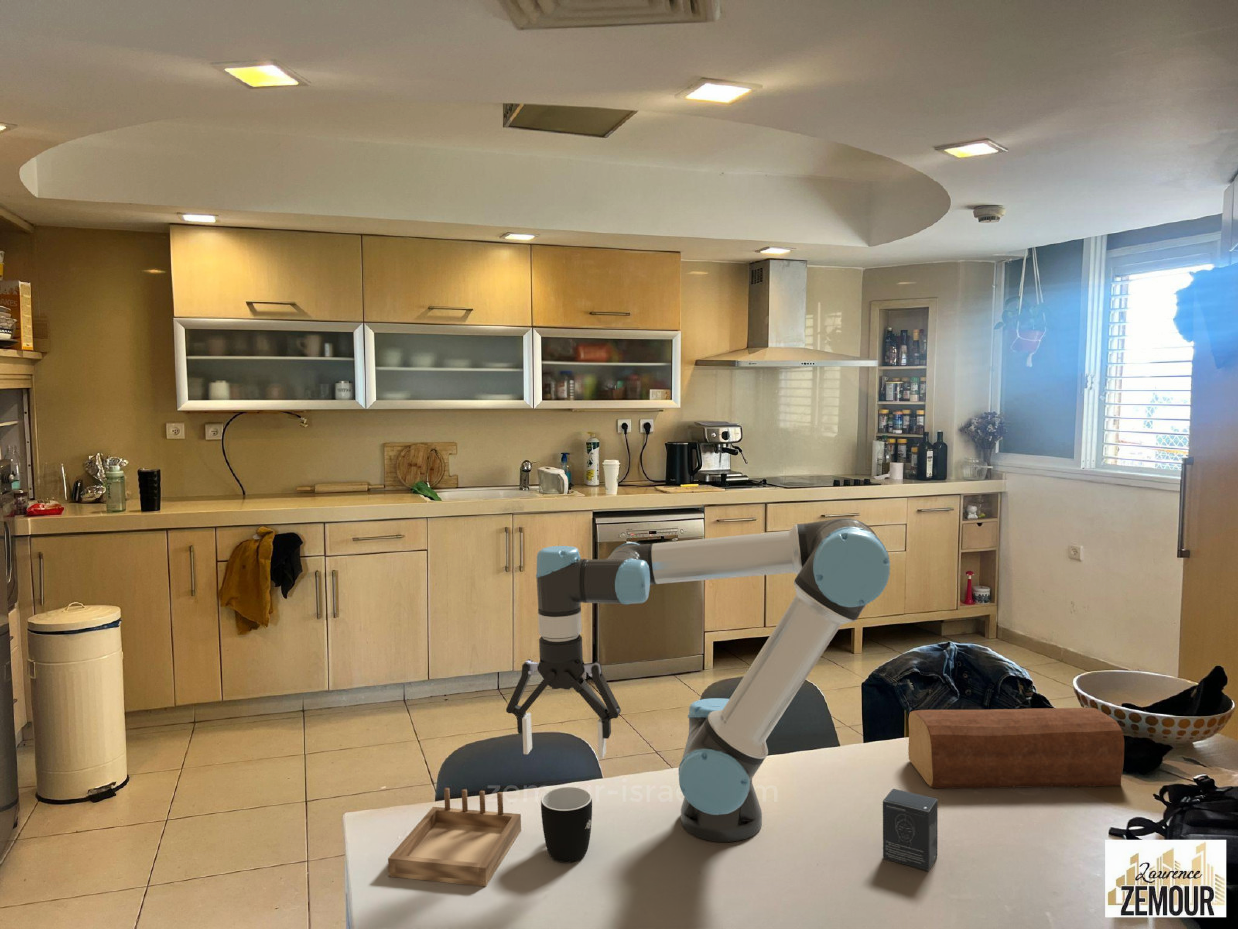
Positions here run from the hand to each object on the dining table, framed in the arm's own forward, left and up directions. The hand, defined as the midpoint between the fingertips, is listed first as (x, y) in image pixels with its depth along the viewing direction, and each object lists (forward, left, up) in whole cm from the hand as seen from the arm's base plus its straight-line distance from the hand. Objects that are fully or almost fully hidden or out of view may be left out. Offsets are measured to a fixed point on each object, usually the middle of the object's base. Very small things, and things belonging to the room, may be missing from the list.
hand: (564, 753), depth 152 cm
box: (-59, -7, -18) cm, 62 cm away
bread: (-84, -45, -18) cm, 97 cm away
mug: (0, 0, -18) cm, 18 cm away
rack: (+19, +5, -18) cm, 26 cm away
